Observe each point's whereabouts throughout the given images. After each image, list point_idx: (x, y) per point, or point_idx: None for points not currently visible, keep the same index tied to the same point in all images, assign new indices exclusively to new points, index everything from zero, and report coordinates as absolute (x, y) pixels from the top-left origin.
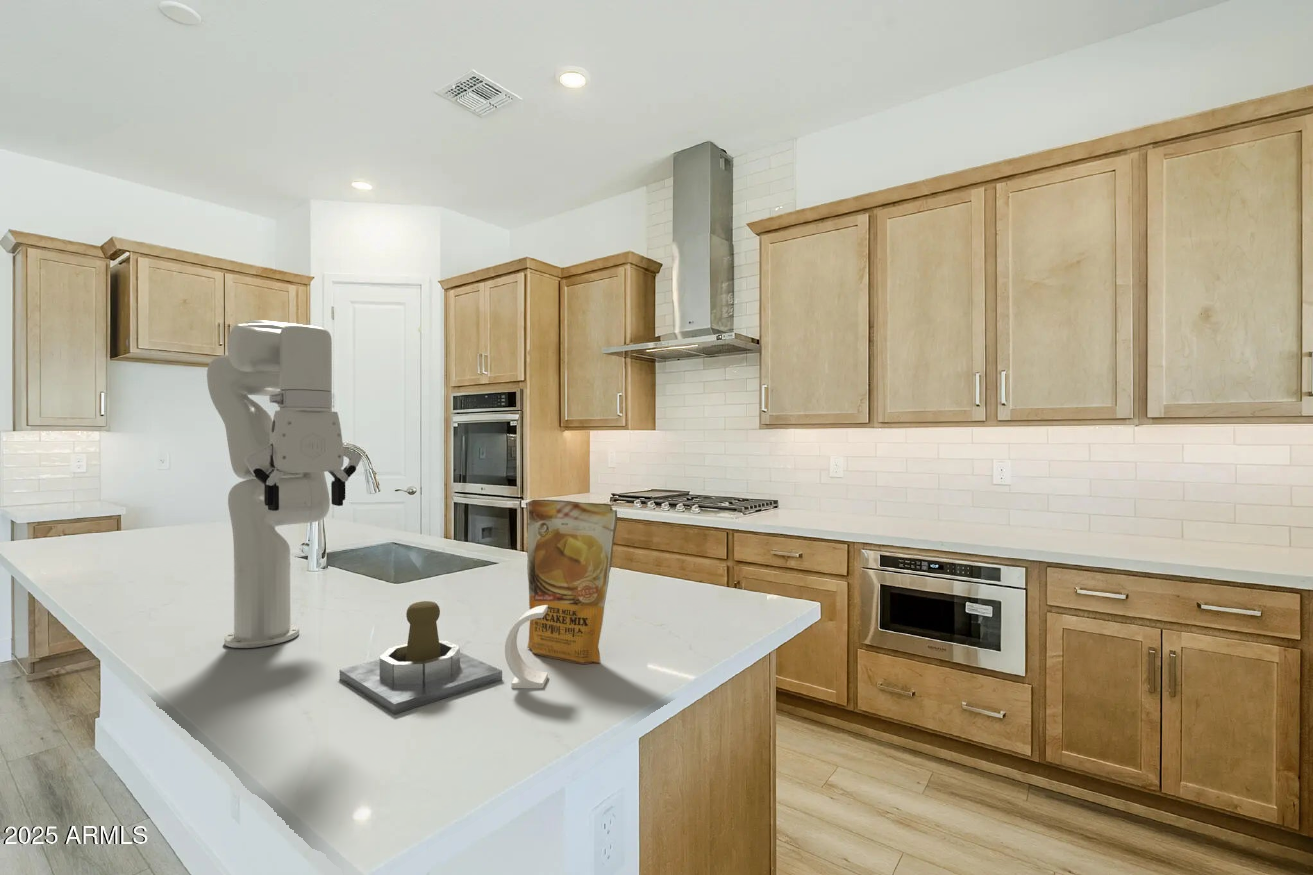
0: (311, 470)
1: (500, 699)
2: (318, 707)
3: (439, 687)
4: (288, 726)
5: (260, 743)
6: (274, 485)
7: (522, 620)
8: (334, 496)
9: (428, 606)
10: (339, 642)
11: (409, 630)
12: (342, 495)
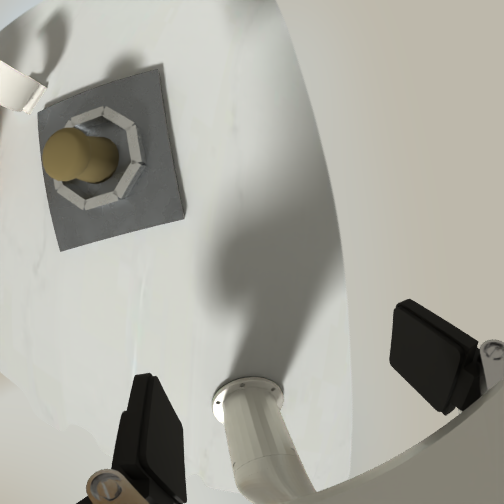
0: (395, 464)
1: (67, 65)
2: (221, 136)
3: (103, 90)
4: (255, 104)
5: (281, 84)
6: (477, 343)
7: (3, 62)
8: (170, 433)
9: (58, 134)
10: (171, 356)
11: (93, 157)
12: (130, 404)
